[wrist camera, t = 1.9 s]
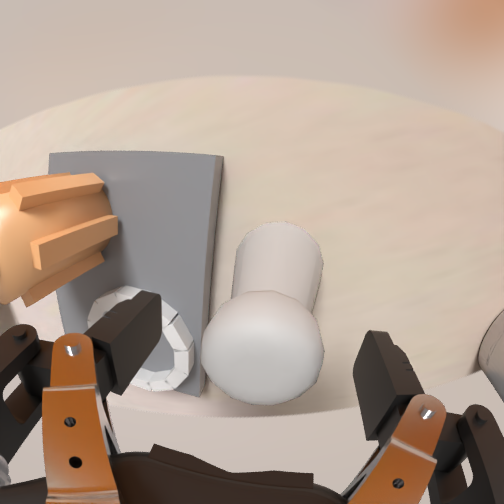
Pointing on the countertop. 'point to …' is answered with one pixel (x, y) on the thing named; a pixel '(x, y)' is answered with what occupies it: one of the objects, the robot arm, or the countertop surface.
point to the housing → (118, 246)
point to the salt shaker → (268, 319)
